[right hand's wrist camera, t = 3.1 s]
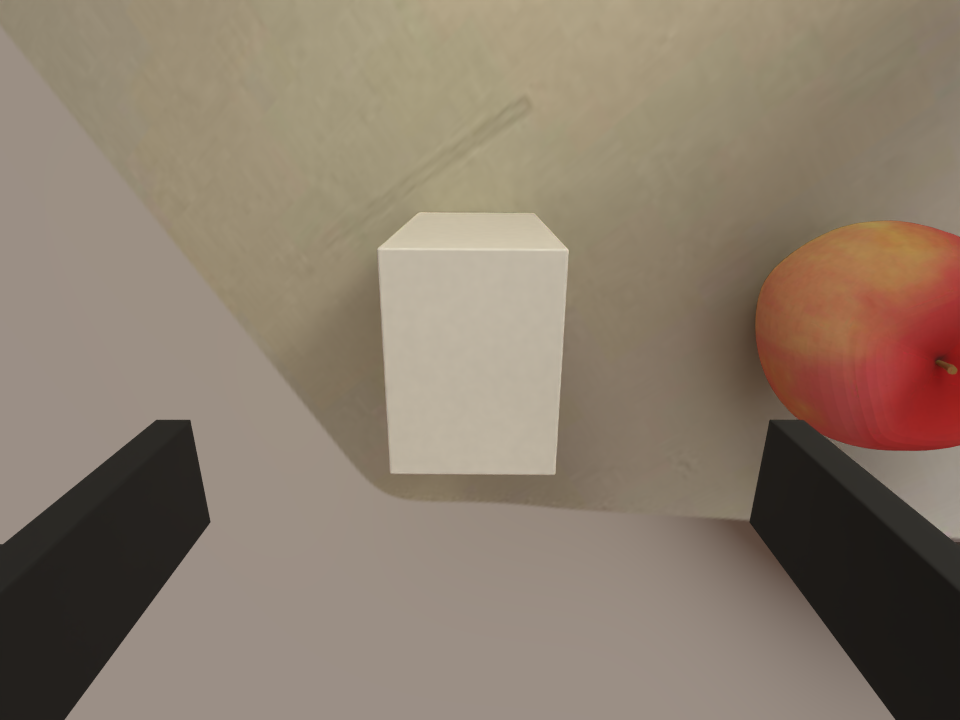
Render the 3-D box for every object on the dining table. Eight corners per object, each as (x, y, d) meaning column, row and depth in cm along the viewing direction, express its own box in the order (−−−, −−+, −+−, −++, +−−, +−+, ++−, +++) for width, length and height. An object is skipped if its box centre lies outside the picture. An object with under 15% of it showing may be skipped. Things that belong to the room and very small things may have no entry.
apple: (933, 226, 28) (1163, 262, 18) (861, 398, 31) (1026, 503, 22) (748, 197, 27) (887, 218, 18) (694, 374, 31) (788, 471, 21)
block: (529, 361, 31) (555, 476, 20) (422, 361, 31) (389, 475, 20) (534, 212, 28) (569, 249, 17) (417, 212, 28) (376, 247, 17)
